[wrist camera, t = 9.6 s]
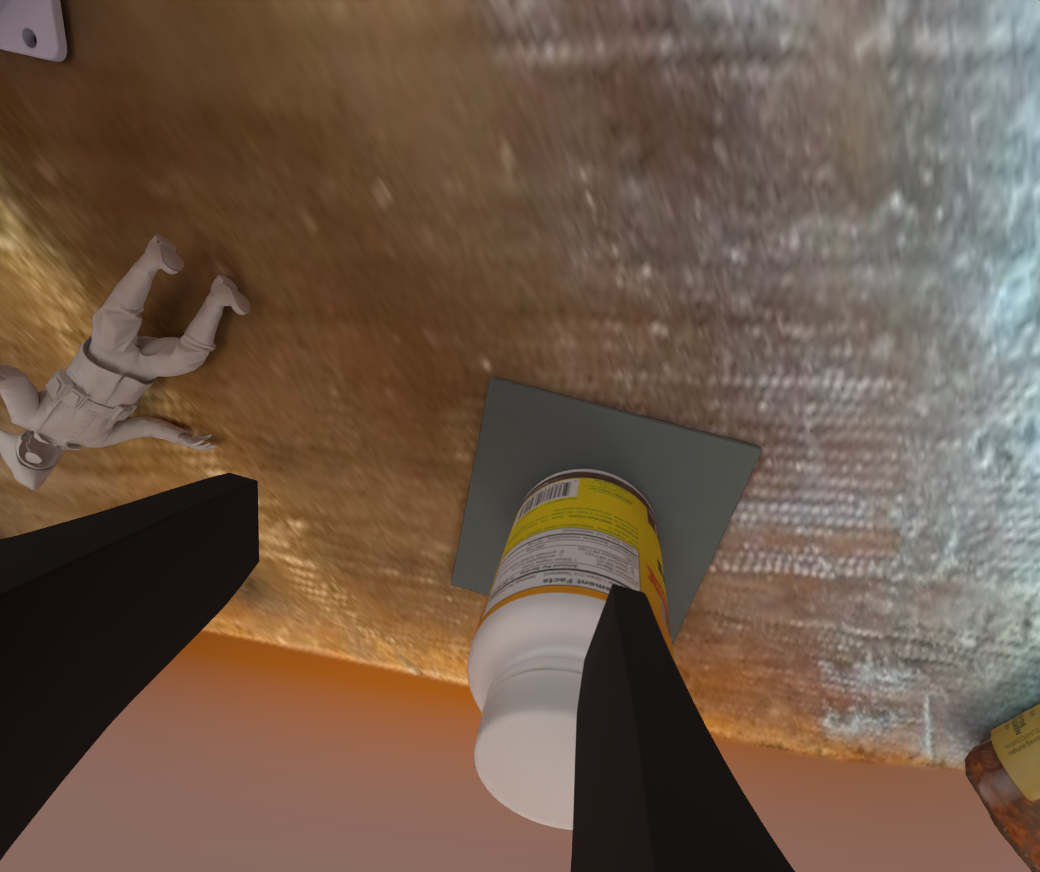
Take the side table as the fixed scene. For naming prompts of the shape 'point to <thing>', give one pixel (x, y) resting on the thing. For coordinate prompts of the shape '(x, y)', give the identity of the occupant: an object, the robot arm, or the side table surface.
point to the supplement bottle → (554, 631)
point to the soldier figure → (111, 375)
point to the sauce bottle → (1012, 782)
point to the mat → (610, 448)
